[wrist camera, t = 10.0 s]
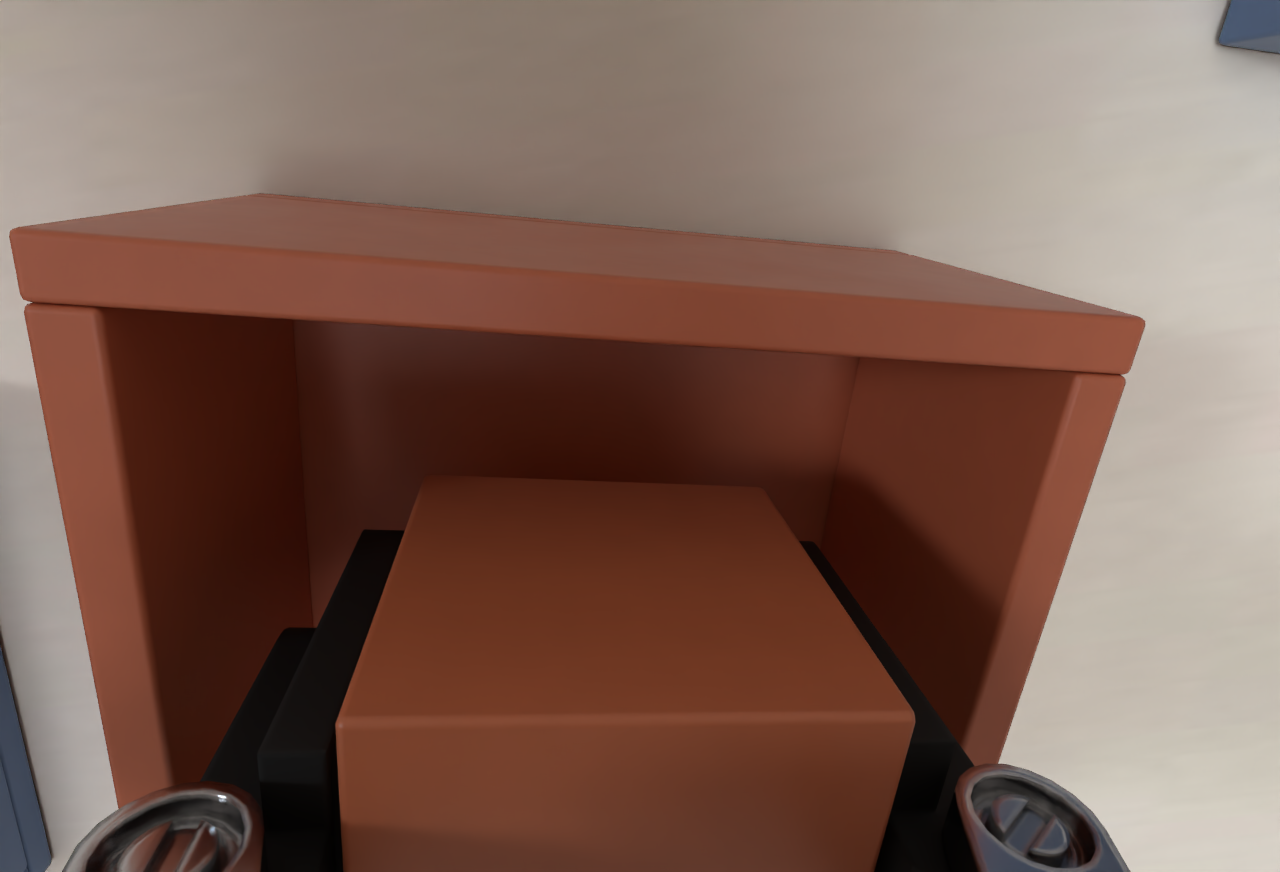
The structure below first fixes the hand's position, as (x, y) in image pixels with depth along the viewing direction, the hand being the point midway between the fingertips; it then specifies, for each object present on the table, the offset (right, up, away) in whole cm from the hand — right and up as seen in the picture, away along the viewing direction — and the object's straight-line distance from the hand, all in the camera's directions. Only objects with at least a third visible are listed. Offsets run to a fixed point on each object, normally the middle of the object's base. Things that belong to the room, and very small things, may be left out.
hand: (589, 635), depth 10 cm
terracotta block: (0, 0, 0) cm, 0 cm away
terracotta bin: (0, +1, +3) cm, 4 cm away
